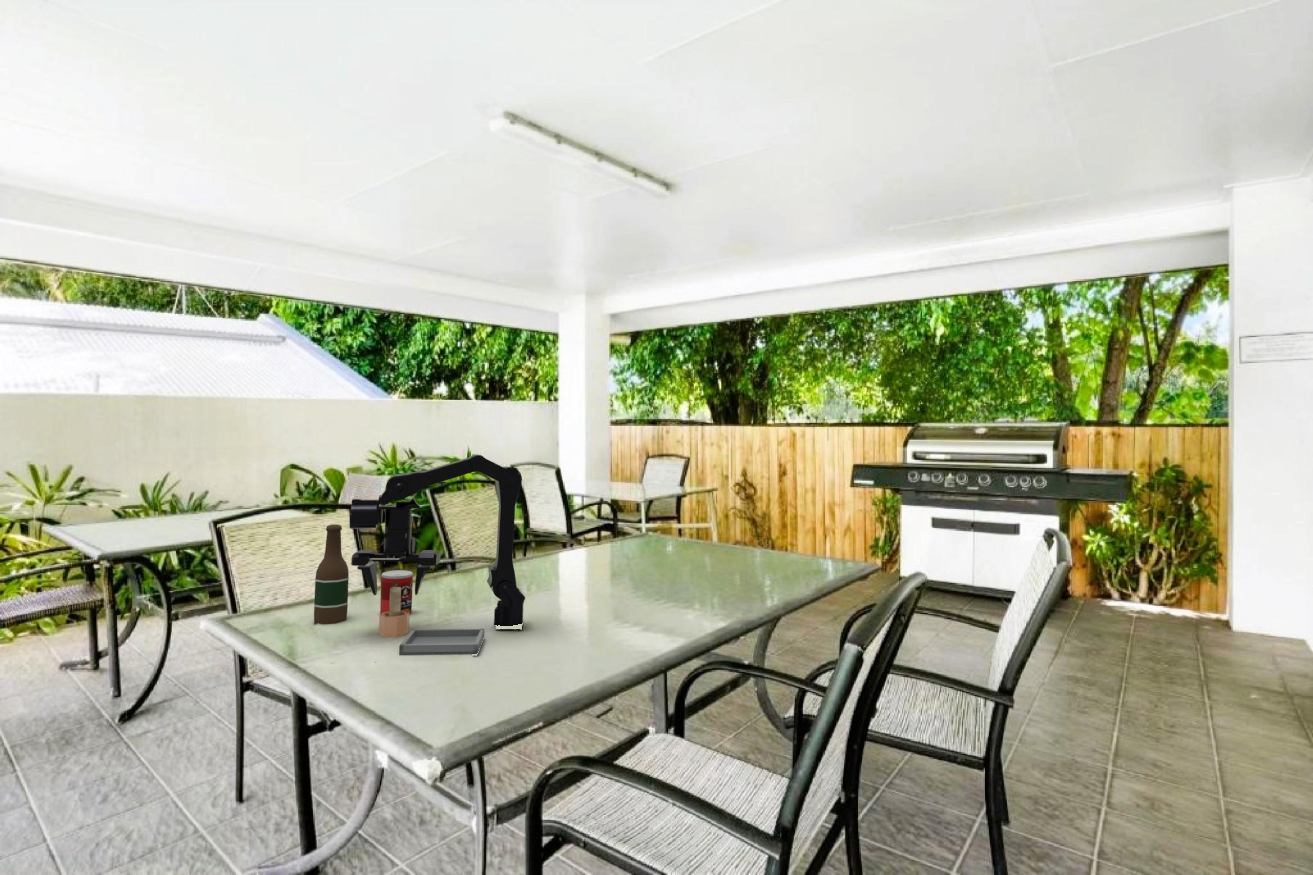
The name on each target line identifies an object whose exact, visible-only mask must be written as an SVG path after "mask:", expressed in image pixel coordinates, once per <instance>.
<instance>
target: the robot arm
mask: <svg viewBox="0 0 1313 875" xmlns="http://www.w3.org/2000/svg"><path fill="white" fill-rule="evenodd" d="M474 472H478V473H480V474H483V475H485V476H487V477H489V478H490V479H493V480H494V481H495V482H494V483H495V490H496V495H497V499H498V512H497V513H498V514H497V516H498V517H497V532H496V534H497V535H496V553H495V554H496V555H495V560H494V564H493V565H487V570H488V577H487V580H486V583H487V584H488V585H489V588H490V589H491V591H492V593H493V594H494V596H495V597H496V598H498V599H499V600H497V603H496V607H494V610H493V611H494V612H493V613H494V614H493V626H494V625H497V626H498V625H500V626H513V625H518V624H522V623H523V621H524V603H525V600H526V596H525V595H524V593H523V592H522V591H521V589H519V588H518V586H517V580H516V579H517V578H516V571H515V568H514V561H513V557H514V555H513V554H514V540H515V539H514V537H515V535H514V534H515V518H516V502H517V500H518V497H519V495H520V490H521V486H522V482H523V477H522V476H523V475H522V473H521V472H520V471H519V470H518V468H515V467H512V466H507V465H506V466H501V465H500V464H498V463H495V462H493V461H491V460H490V459H487V458H486V457H485V456H483V455H481V454H478V453H477V454H473V455H471V456H469V457H466V458H463V459H459V460H455V461H453V462H450V463H445V464H442V465H439V466H436V467H433V468H429V469H426V470H421V471H419V470H418V471H411V472H410V471H409V472H402V473H397V474H393V475H392V476H390V477H389V478H388V480H387V482H386V485H385V490H384V492H383V493H382V494H380V495H379V496H378V499H361V498H353V499H351V506H350V508H351V509H350V513H349V529H352V530H354V529H355V530H358V529H377V526H379V525H382V523H383V510H385V511H384V514H385V515H384V533H383V539H384V540H383V551H382V553H377V550H376V549H359V550H358V551H356V552H353V554H352V556H351V559H350V560H351V563H350V565H351V566H354V567H356V566H357V568H356V569H357V570H360V571H362V573H363V575H364V576H365V578H366V580H367V582H368V585H369V587H370V590H371V592H372V595H373V596H376V595H378V577H377V569H378V568H377V567H378V562H382V563H389V562H391V563H392V562H398V563H401V562H403V563H405V562H406V563H407V562H408V563H409V562H414V563H415V562H417V563H418V564H419V565H418V566H417V567H416V571H415V572H416V574H415V583H414V596H417V595H418V594H419V591H420V588H421V586H422V583H423V580H424V577H425V576H426V574H427V572H428V571H429V570H431V569H432V568H433V567H434V566H437V565H438V564H439V563H441V551H439V550H438V549H427V550H426V549H423V550H422V551H420V552H419V553H415V550H416V540H415V539H414V538H413V536H412V510H418V509H420V508H421V506H420V504H419V503H418V502H417V501H416V500H415V498H414V497H412V498H411V499H410V500H409V501H406V500H405V499H407V498H409V497H411V496H412V495H413V496H414V494H416V493H419V492H420V491H422V490H424V489H426V488H428V487H430V486H433V485H435V484H439V483H443V482H445V481H449V480H452V479H455V478H458V477H462V476H466V475H467V474H472V473H474ZM395 500H396V502H395V505H389V504H390V503H392V502H393V501H395ZM401 500H402V501H401ZM403 500H405V501H403Z"/></svg>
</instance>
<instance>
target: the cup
mask: <svg viewBox="0 0 1313 875" xmlns="http://www.w3.org/2000/svg"><path fill="white" fill-rule="evenodd" d="M378 625H379V628H378V636H381V637H383V638H398V637H403V636H407V635H408V634H409V633H410V615H409V612H406V611H400V616H389V611H388V612H383V613H382V614H381V615H380V614H379V623H378Z"/></svg>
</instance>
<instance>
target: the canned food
mask: <svg viewBox="0 0 1313 875" xmlns="http://www.w3.org/2000/svg"><path fill="white" fill-rule="evenodd" d="M413 573H414V572H412V571H410V570H405V569H404V570H403V569H402V570H399V569H398V570H388V571H384V572H382V573H381V576H380V578H381V579H380V605H379V606H380V607H379V608H380V609H379V616H380V615H381V614H382V613H383V612H388V611H389V605H390V588H392V587H401V606H400V611H406V612H409V616H410V615H411V614H412V612H413V611H412V607H413V589H414V588H413V583H414V578H413V577H414V574H413Z"/></svg>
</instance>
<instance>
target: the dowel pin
mask: <svg viewBox="0 0 1313 875" xmlns="http://www.w3.org/2000/svg"><path fill="white" fill-rule="evenodd" d="M400 606H401V587H392V588H390V605H389V616H400Z"/></svg>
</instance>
